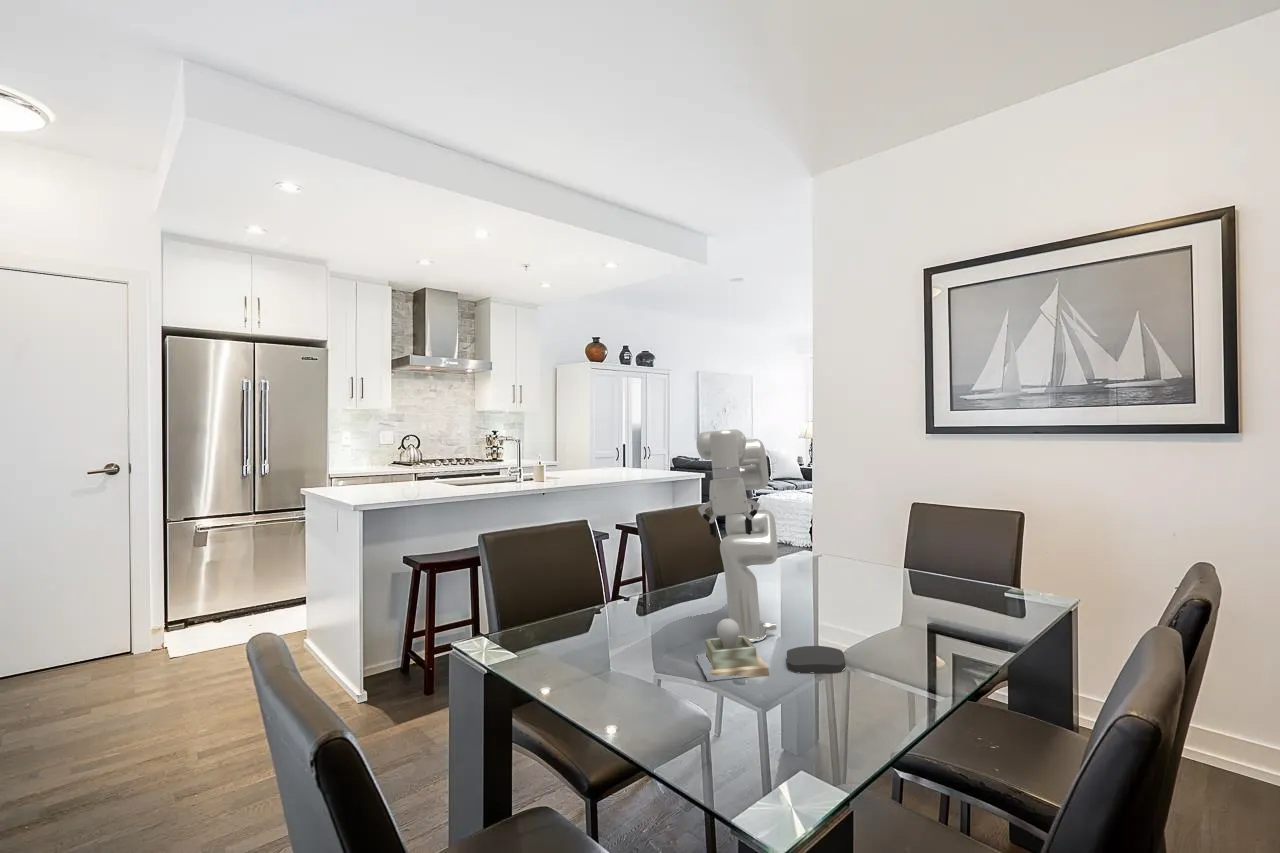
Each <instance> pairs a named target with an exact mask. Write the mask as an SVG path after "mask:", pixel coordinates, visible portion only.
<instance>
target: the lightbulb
mask: <svg viewBox="0 0 1280 853" xmlns="http://www.w3.org/2000/svg"><path fill="white" fill-rule="evenodd" d="M739 632H740V629H739V626H738V624H737V623H736V622H735V621H734V620H732V619H729V617H728V618H723V619H721V620H720V621H719V622H718V623H717V626H716V633H717V637H718V638H720V640H721V641H722V644H723V647H724V649H734V648H736V647H735V646H736V641H737V638H738V636H739Z"/></svg>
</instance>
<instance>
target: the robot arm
mask: <svg viewBox="0 0 1280 853" xmlns="http://www.w3.org/2000/svg"><path fill="white" fill-rule="evenodd" d="M696 450H697V453H698V455H699V456H700V457H701V458H702V459H703V460H705V461H711V470H712V479H710V480H709V494H708V495H709V501H706V502H705V503H704V504H702V505H701V506H699V507H698V508H697V511H698V512H699V514H700V515H701V517H702V518H703V519H704V520H705V521H706V522H708V527H709V534H710V535H711V537H712V538H713V539H716V538H717V536H718V535H717V526H716V523H715V520H716V519H717V517H723V516H725V532H726V536H724V537H723V538H722V539H721V541H720V544H719V551H720V556H721V560H722V565H723V572H724V578H725V588H726V600H727V613H728V618H729V619H732V620H734V621H735V622H736V623H737V624H738V626H739V629H740V632H739V636H744V635H745V636H746V637H747V638H749V640H753V639H760V638H762V637H764V636H765V635H767V631H769V630H770V631H774V630H775V631H776V630H777V624H776V622H773V623H771V622H768V621H767V622H763V621H761V615H760V614H761V613H760V604H759V591H758V583H757V578H756V576H755V574H754V573H753V572H752V571H751V569H750V568H748V567H749V566H764V565H773V564H775V562H776V561H777V560H778V555H779V552H778V537H777V536H778V535H777V526H776V520H775V516H774V514H773V513H772V512H771V511H770V510H768V509H759V508H760V506H761V504H760V503H759V502H757V501H756V500H752V499H750V498H749V497H747V492H746V491H755V490H756V491H757V490H763V489H765V488H767V487H768V485H769V481H770V480H769V479H770V477H769V470H768V461H767V453H766V449H765V446H764V443H763V442H762V441H761V440H760V439H758V438H750V439H747V437H746V435H745V434H744V432H742V431H741V430H739V429H723V430H722V429H720V430H713V431H712V430H710V431H704V432H700V433H699V434H698V436H697V437H696ZM708 508H709V511H710V513H711V514H710V515H708V514H707V513H706V510H707V509H708ZM757 637H759V638H757Z"/></svg>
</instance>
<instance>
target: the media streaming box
mask: <svg viewBox="0 0 1280 853" xmlns="http://www.w3.org/2000/svg"><path fill="white" fill-rule="evenodd" d="M845 657H846V656H845V654H844V652H843V651H842V649H840V648H836V647H831V646H823V645H804V646H798V647H797V646H796V647H793V648H790V649H788V650H786V660H787V661H786V662H787V668H788V670H789V671H790V670H791V672H792V671H794V672H793V673H796V672H800V673H799V674H811V673H810V672H814V673H813V674H839V673H842V672H841V671H842V670H843V669H844V668H845V667H846V658H845ZM846 668H847V667H846ZM838 672H839V673H838Z"/></svg>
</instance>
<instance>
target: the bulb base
mask: <svg viewBox="0 0 1280 853" xmlns="http://www.w3.org/2000/svg"><path fill="white" fill-rule="evenodd" d="M704 643H705V645H704V647H705V653H706V657H707V658H708V660H709V662H710V663H711V665H712V668H711V673H710V674H712V675H715V676H733V675H734V676H736V675H737V676H738V675H739V676H746V677H749V678H758V677H759V678H760V677H767V676H770V670H769V669H770V668H769V666H768V665H767V664H766V663H765V661H764V660H763V658H761V656H760V655H759V654H758V653H757V647H756V646H755V645H754V643H751V641H750V640H749V639H748V638H747V637H746V636H745V635H744V636H738V638H737V641H736V646H735V647H736V648H734V649H724V647H723V644H722V641H721V640H720V638H719V637H715V638H714V637H713V638H706V639H704ZM697 656H698V655H697V654H696V657H697ZM698 658H700V657H699V656H698ZM702 658H703V657H702Z"/></svg>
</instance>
